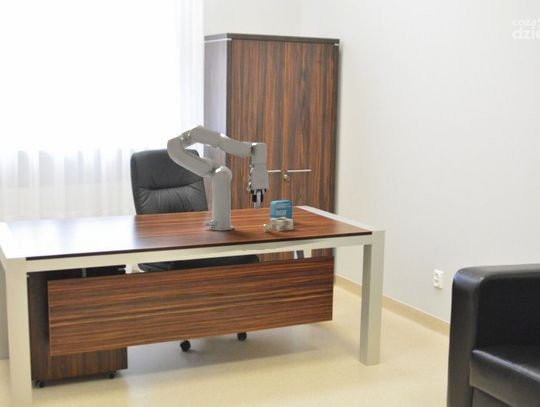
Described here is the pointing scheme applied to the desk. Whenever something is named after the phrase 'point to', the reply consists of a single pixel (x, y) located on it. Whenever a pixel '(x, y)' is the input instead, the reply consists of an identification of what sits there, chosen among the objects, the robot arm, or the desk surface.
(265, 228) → the short pin
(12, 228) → the desk surface
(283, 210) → the data package
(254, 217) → the desk surface
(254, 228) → the desk surface
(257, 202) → the tall pin
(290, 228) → the pin block
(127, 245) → the desk surface
